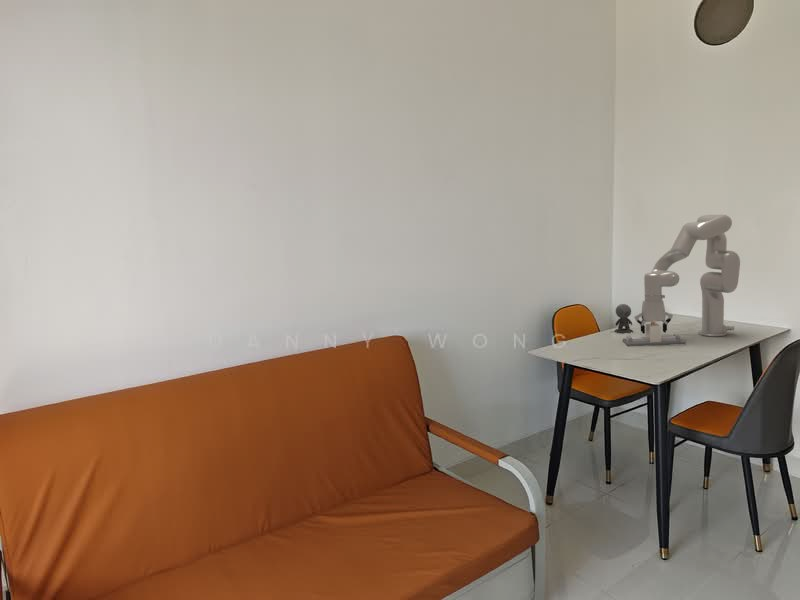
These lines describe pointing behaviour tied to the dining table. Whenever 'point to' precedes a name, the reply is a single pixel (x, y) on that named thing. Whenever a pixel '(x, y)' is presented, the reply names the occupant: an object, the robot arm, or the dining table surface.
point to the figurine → (623, 319)
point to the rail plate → (645, 341)
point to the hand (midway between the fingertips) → (653, 332)
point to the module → (653, 332)
